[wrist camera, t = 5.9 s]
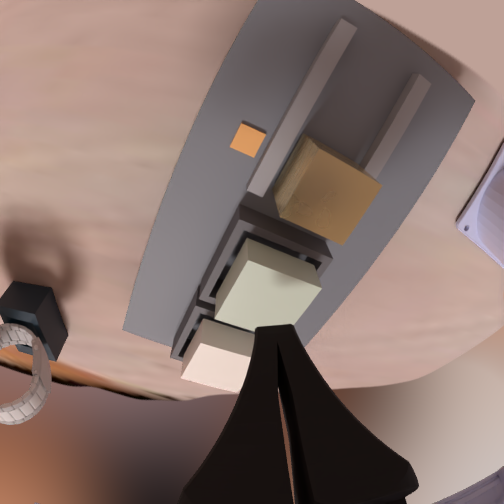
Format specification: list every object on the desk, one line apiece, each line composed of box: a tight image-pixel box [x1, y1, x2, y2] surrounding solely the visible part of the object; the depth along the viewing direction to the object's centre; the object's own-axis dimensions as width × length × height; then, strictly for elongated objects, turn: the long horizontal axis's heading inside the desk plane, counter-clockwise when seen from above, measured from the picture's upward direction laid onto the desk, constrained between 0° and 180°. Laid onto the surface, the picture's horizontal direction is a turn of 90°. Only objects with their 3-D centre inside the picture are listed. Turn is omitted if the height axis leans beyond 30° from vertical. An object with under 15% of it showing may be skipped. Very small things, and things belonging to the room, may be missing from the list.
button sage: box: [214, 238, 322, 332], centre depth 15 cm, size 4×4×2 cm
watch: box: [0, 281, 68, 425], centre depth 17 cm, size 6×8×11 cm
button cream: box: [181, 318, 255, 393], centre depth 17 cm, size 4×4×2 cm
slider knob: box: [272, 133, 382, 246], centre depth 13 cm, size 3×3×3 cm
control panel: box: [122, 0, 475, 361], centre depth 16 cm, size 12×23×4 cm, turn 154°
